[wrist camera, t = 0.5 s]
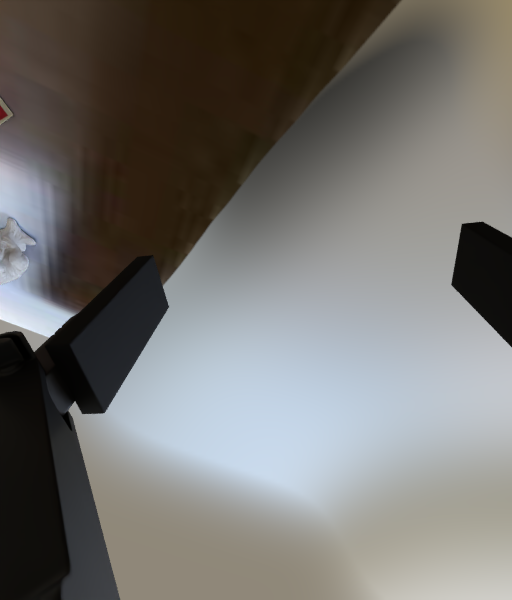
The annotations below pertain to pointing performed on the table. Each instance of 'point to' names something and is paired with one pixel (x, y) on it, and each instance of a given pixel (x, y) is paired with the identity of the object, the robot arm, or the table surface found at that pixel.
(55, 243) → the table surface
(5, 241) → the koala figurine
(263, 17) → the table surface
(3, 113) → the milk carton
